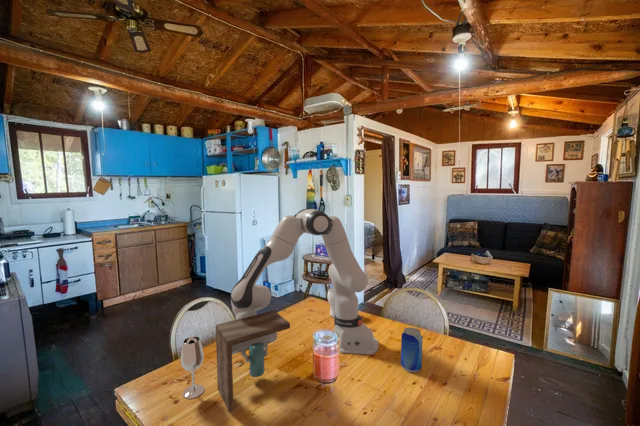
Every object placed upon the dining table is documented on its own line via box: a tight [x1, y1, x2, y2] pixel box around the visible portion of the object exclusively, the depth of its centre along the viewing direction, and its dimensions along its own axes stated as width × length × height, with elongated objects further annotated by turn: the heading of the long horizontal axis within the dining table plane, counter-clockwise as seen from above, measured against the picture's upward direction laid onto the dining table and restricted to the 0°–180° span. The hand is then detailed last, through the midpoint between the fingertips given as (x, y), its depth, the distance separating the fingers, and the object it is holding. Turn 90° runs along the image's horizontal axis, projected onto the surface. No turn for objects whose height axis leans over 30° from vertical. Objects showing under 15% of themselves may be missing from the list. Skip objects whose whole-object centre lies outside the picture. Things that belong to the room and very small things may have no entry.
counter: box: [215, 310, 291, 413], centre depth 111 cm, size 14×24×25 cm, turn 124°
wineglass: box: [180, 336, 205, 400], centre depth 109 cm, size 8×8×20 cm
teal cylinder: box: [248, 342, 265, 378], centre depth 116 cm, size 6×6×11 cm
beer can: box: [400, 327, 424, 373], centre depth 124 cm, size 8×8×16 cm
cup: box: [326, 287, 335, 318], centre depth 176 cm, size 11×11×15 cm
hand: (257, 358), depth 115 cm, fingers closed on teal cylinder, 6 cm apart
